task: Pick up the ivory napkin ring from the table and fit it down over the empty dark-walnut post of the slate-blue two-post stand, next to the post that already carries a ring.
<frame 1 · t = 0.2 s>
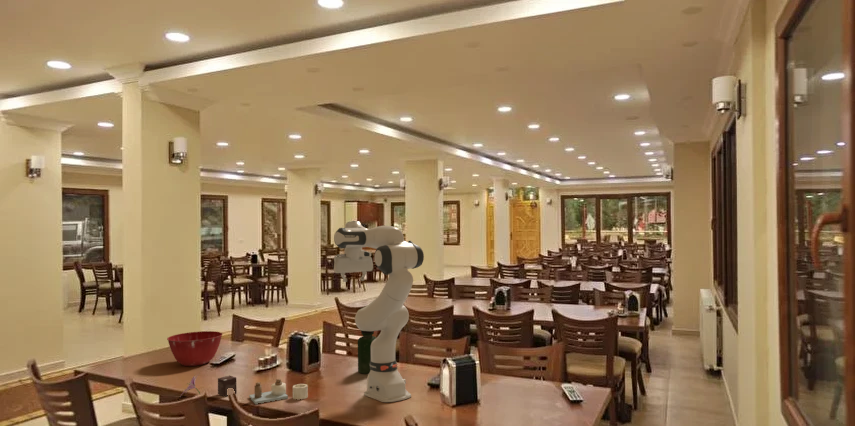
hand: (353, 281, 273), 48 cm above the table, fingers open, 8 cm apart
spray bottle: (368, 371, 280), on the table
box: (227, 394, 247), on the table
ring: (300, 397, 240), on the table
mixing bowl: (195, 363, 304), on the table
lily: (191, 395, 246), on the table
stand: (268, 398, 239), on the table
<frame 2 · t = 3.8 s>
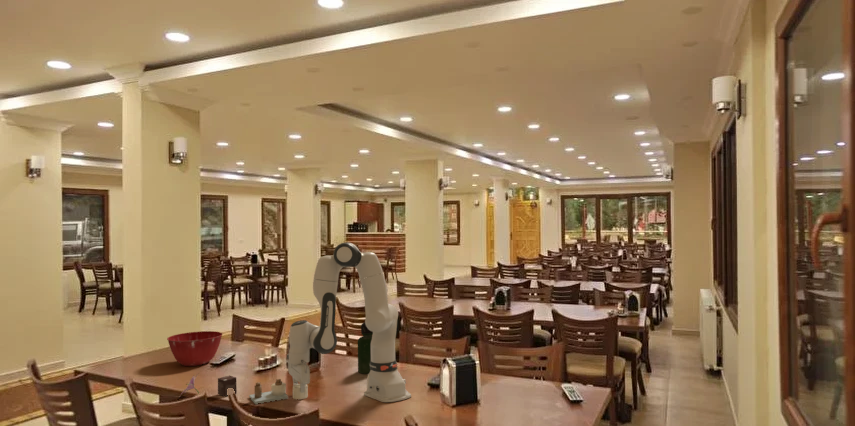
hand: (298, 389, 240), 3 cm above the table, fingers open, 8 cm apart
nothing on the table moved.
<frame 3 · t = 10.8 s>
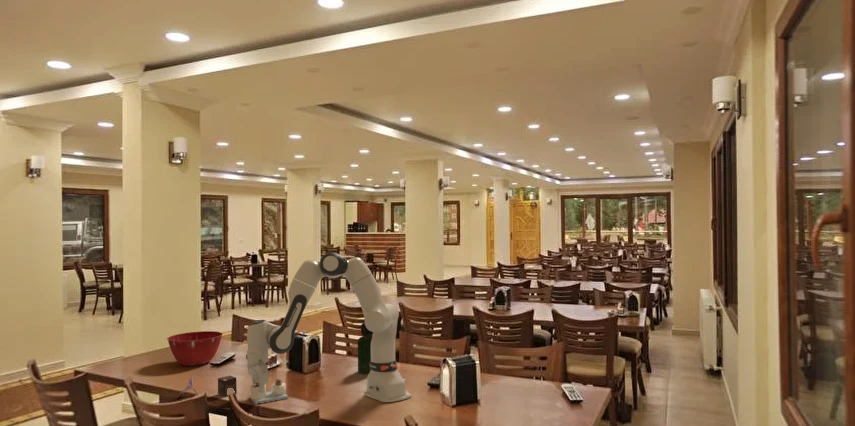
hand: (258, 389, 237), 4 cm above the table, fingers open, 8 cm apart
ring: (258, 397, 237), point 1 cm above the table, touching stand
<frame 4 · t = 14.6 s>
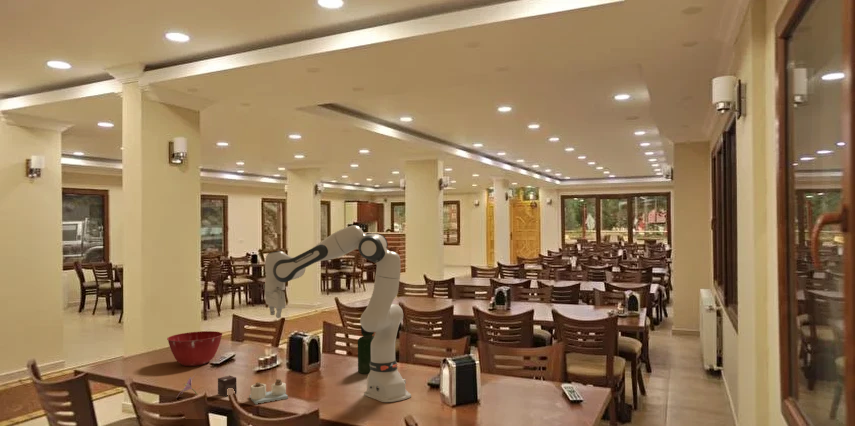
hand: (275, 316, 251), 34 cm above the table, fingers open, 8 cm apart
at the end: ring 0.1 cm from the target spot on the stand, point 1.2 cm above the stand's base; ring tilted 0°; the gripper is holding nothing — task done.
